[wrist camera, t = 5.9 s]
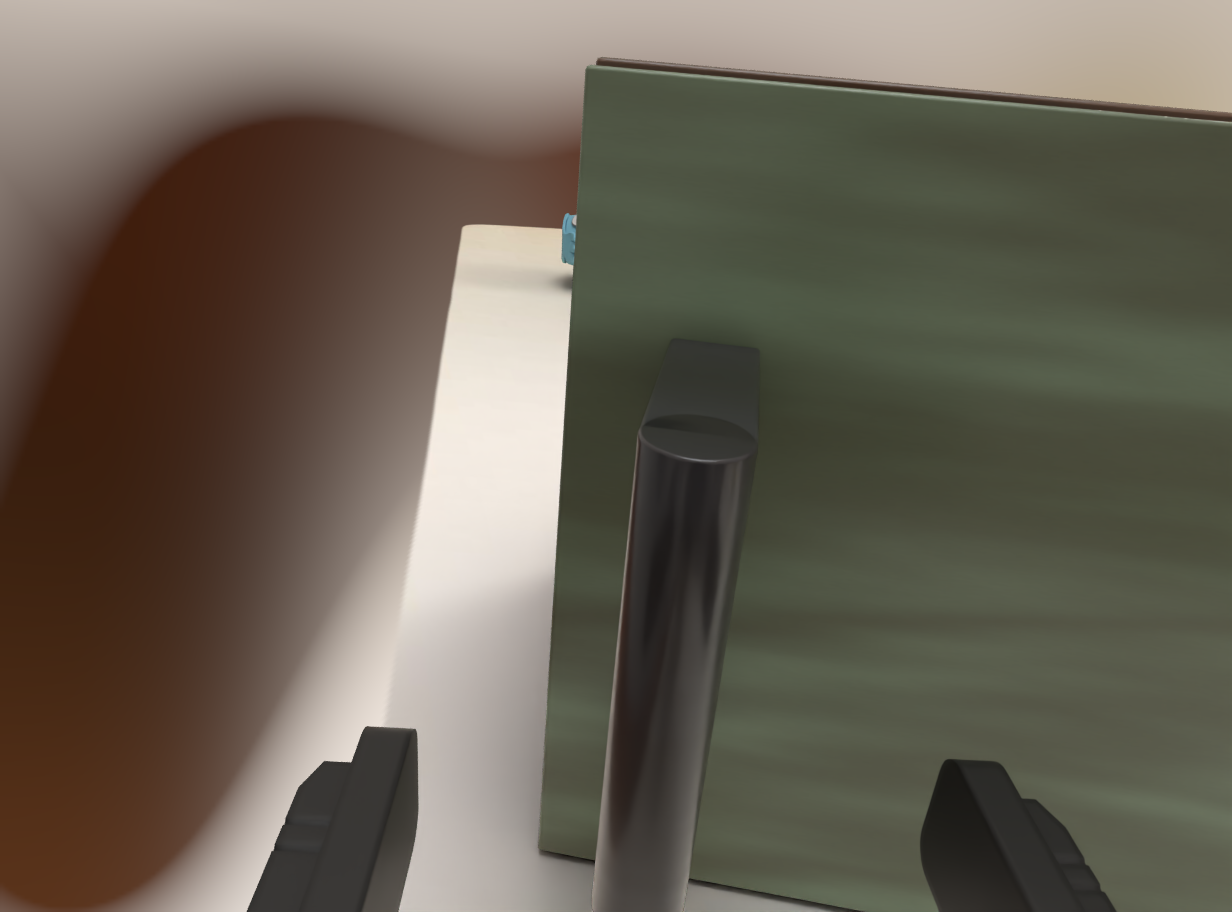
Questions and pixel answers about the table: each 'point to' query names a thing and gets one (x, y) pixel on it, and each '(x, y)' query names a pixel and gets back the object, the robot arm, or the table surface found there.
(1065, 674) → the cupboard door
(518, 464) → the table surface
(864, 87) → the cupboard
